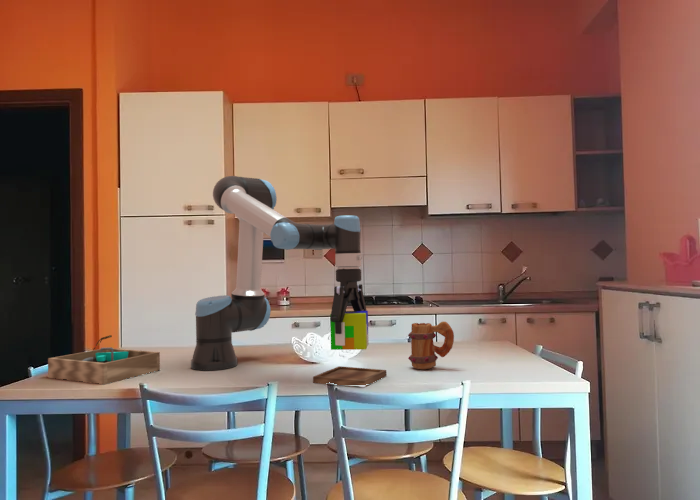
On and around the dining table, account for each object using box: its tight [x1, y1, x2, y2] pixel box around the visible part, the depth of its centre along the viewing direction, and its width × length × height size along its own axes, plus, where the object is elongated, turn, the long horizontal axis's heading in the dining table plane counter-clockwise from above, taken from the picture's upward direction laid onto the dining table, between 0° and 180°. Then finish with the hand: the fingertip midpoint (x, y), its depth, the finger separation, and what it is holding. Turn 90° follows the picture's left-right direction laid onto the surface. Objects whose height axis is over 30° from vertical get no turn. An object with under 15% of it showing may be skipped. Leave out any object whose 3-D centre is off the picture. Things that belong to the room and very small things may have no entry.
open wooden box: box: [47, 348, 161, 385], centre depth 172 cm, size 25×21×6 cm
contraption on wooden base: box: [82, 334, 129, 363], centre depth 172 cm, size 14×18×15 cm
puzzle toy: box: [329, 310, 370, 351], centre depth 158 cm, size 10×10×10 cm
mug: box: [407, 320, 455, 370], centre depth 170 cm, size 15×8×15 cm, turn 68°
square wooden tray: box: [312, 366, 387, 386], centre depth 157 cm, size 16×16×2 cm
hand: (350, 342), depth 158 cm, fingers closed on puzzle toy, 12 cm apart
